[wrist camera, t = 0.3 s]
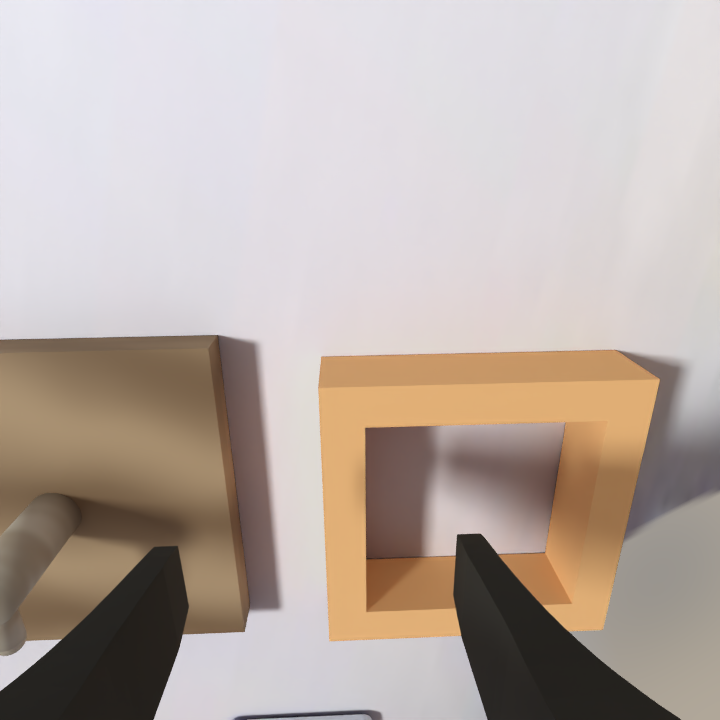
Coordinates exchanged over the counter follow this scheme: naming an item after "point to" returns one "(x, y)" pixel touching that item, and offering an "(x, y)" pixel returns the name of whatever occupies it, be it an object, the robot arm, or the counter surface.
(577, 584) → the wooden square frame
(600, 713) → the robot arm
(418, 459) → the counter surface
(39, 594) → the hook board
